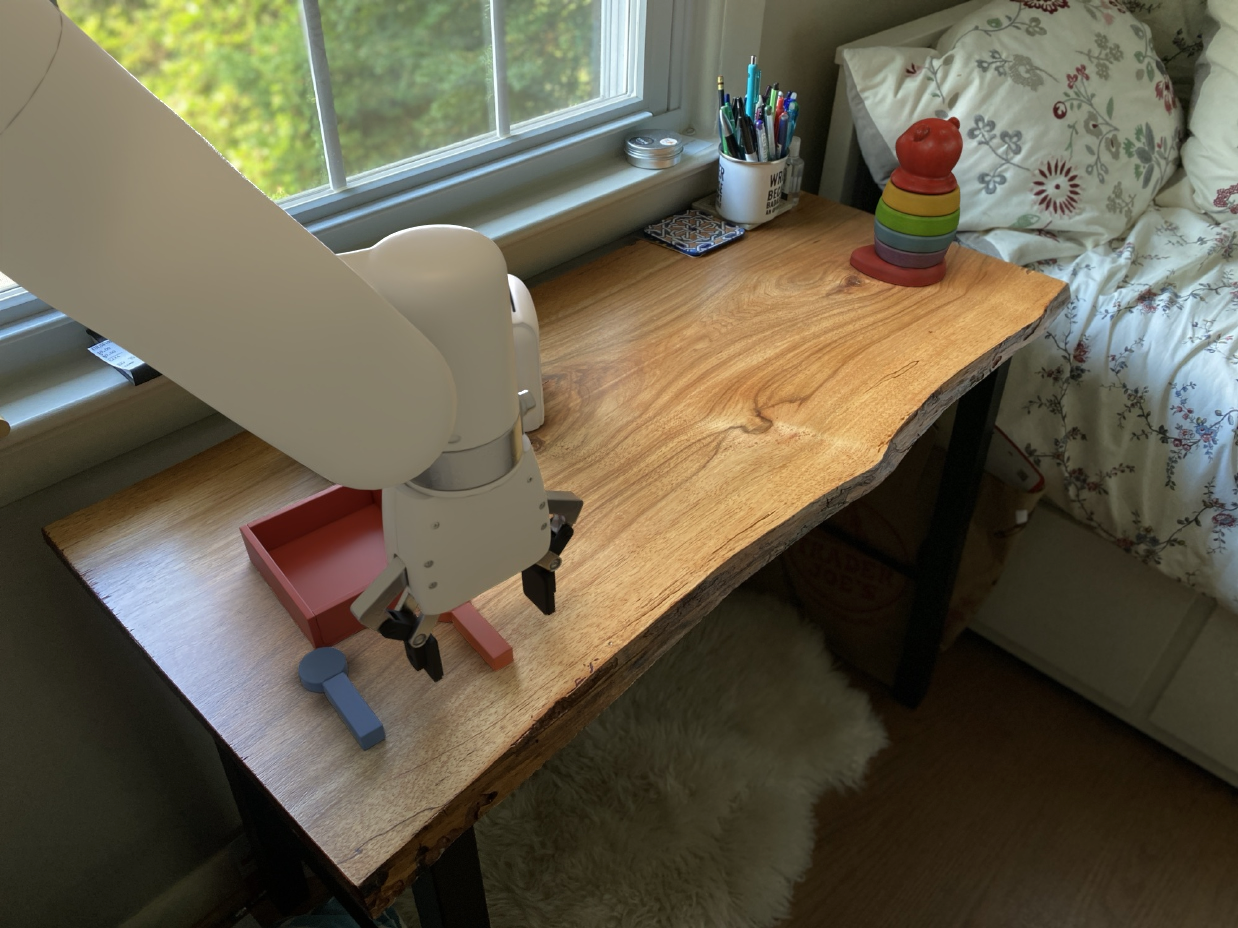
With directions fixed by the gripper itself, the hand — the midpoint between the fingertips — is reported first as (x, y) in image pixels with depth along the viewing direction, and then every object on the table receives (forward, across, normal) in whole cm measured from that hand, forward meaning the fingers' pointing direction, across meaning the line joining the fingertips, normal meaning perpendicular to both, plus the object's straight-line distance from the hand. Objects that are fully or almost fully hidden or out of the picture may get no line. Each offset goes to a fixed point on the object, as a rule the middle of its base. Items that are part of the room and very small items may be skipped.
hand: (485, 634), depth 66 cm
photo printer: (+2, -19, -24) cm, 30 cm away
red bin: (+1, +4, -13) cm, 14 cm away
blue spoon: (+1, +10, -2) cm, 10 cm away
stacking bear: (+2, -71, -18) cm, 73 cm away
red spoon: (+1, 0, -2) cm, 3 cm away
